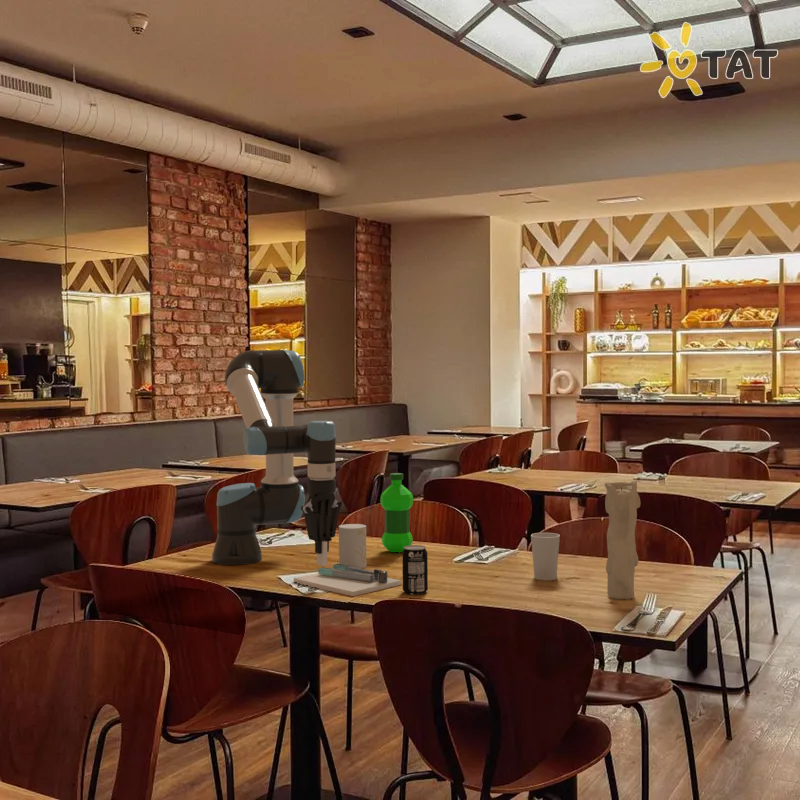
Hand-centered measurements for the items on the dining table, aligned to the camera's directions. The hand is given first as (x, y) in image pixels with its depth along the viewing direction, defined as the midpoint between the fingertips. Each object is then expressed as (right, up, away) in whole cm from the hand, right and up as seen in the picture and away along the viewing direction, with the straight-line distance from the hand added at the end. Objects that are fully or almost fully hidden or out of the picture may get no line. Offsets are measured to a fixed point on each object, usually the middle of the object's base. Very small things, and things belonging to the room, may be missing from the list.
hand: (322, 564), depth 266 cm
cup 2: (+62, -5, +8) cm, 62 cm away
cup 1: (+7, -5, +27) cm, 28 cm away
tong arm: (+6, -4, +4) cm, 9 cm away
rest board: (+7, -6, +3) cm, 9 cm away
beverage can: (+25, -6, -8) cm, 27 cm away
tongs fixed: (+10, -6, +6) cm, 13 cm away
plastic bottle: (+20, -4, +49) cm, 53 cm away
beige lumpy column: (+78, -6, -16) cm, 79 cm away
